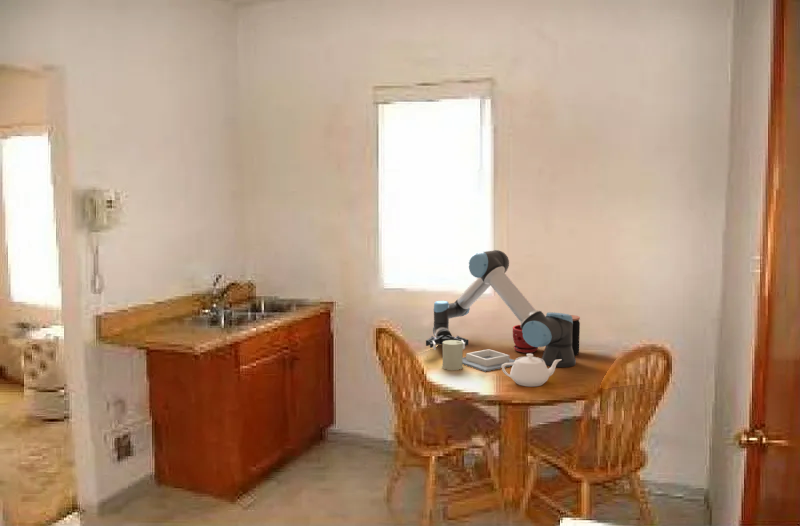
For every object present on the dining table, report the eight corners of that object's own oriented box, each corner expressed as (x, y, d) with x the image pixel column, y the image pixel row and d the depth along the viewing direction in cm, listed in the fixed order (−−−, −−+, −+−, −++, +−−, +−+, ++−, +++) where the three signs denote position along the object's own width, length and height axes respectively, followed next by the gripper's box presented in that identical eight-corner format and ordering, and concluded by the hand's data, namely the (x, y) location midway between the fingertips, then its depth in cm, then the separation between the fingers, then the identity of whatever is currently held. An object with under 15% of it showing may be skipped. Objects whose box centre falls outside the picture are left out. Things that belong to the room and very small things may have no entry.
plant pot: (506, 349, 325) (507, 326, 324) (527, 346, 332) (527, 323, 330) (524, 355, 314) (524, 331, 313) (545, 352, 320) (545, 328, 319)
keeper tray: (522, 364, 298) (522, 355, 298) (485, 372, 286) (485, 363, 286) (489, 354, 316) (489, 346, 316) (453, 361, 304) (453, 352, 304)
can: (461, 370, 289) (461, 344, 287) (440, 369, 290) (440, 343, 289) (463, 365, 298) (464, 339, 296) (443, 364, 299) (443, 338, 298)
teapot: (505, 389, 262) (505, 359, 260) (497, 377, 277) (497, 349, 275) (567, 388, 263) (568, 358, 261) (555, 376, 278) (556, 348, 277)
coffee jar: (583, 355, 314) (584, 318, 312) (563, 357, 311) (564, 319, 309) (571, 350, 324) (572, 314, 322) (552, 351, 321) (552, 315, 319)
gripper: (468, 343, 325) (476, 354, 304) (418, 344, 324) (422, 355, 303) (468, 328, 324) (476, 338, 303) (418, 329, 323) (422, 339, 302)
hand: (449, 346), depth 303 cm, fingers open, 13 cm apart
